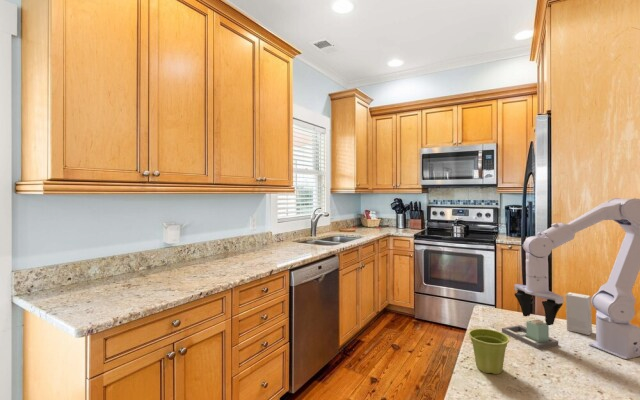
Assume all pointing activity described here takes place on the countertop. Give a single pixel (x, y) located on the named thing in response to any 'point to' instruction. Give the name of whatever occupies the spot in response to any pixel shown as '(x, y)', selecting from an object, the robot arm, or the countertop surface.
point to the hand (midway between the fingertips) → (537, 319)
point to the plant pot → (489, 349)
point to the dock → (526, 340)
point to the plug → (537, 331)
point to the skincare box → (579, 313)
